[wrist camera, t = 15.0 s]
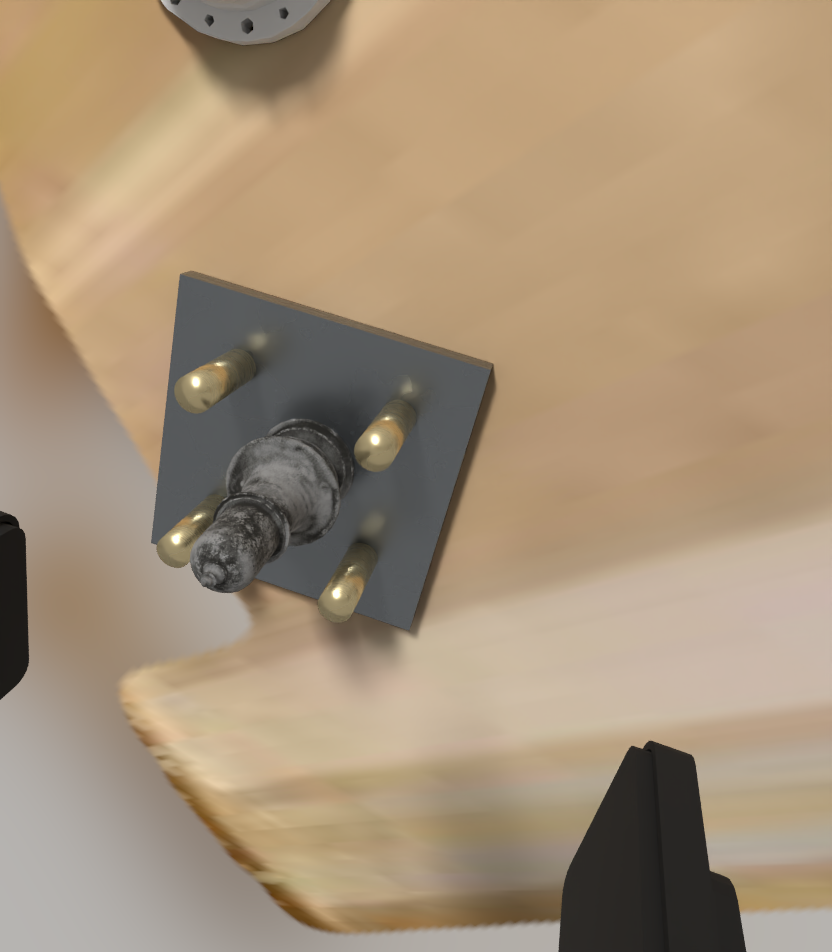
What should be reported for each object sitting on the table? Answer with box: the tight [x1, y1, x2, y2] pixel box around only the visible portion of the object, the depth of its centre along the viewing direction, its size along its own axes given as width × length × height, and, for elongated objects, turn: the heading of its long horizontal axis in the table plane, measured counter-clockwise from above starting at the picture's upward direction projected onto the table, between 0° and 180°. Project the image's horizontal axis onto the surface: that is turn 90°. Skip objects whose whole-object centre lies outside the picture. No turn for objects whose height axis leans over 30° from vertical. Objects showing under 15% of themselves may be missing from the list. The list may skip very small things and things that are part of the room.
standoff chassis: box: [151, 271, 493, 630], centre depth 37 cm, size 16×16×6 cm
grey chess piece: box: [190, 419, 354, 593], centre depth 33 cm, size 6×6×12 cm
